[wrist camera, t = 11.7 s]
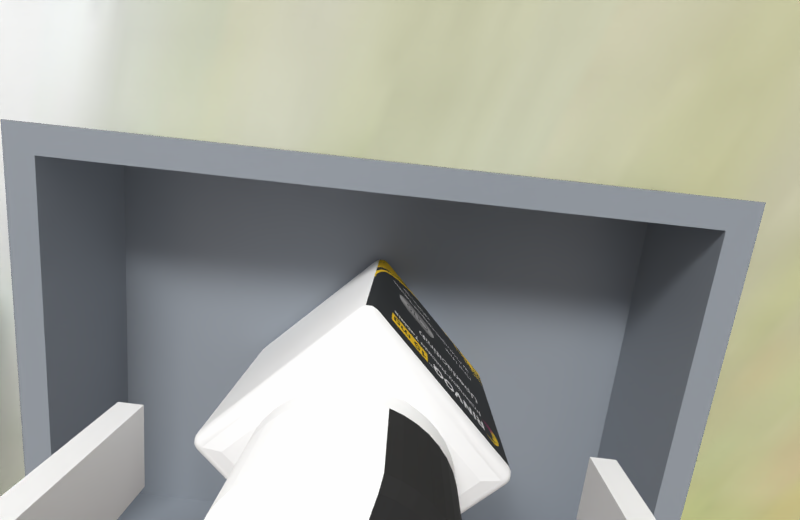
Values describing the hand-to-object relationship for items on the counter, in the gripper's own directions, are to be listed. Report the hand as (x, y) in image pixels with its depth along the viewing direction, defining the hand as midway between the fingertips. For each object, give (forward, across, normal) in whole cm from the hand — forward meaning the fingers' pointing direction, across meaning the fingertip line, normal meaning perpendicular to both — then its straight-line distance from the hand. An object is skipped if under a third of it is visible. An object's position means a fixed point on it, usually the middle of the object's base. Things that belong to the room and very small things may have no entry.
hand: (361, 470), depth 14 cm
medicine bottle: (+8, 0, 0) cm, 8 cm away
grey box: (+8, 0, 0) cm, 8 cm away
